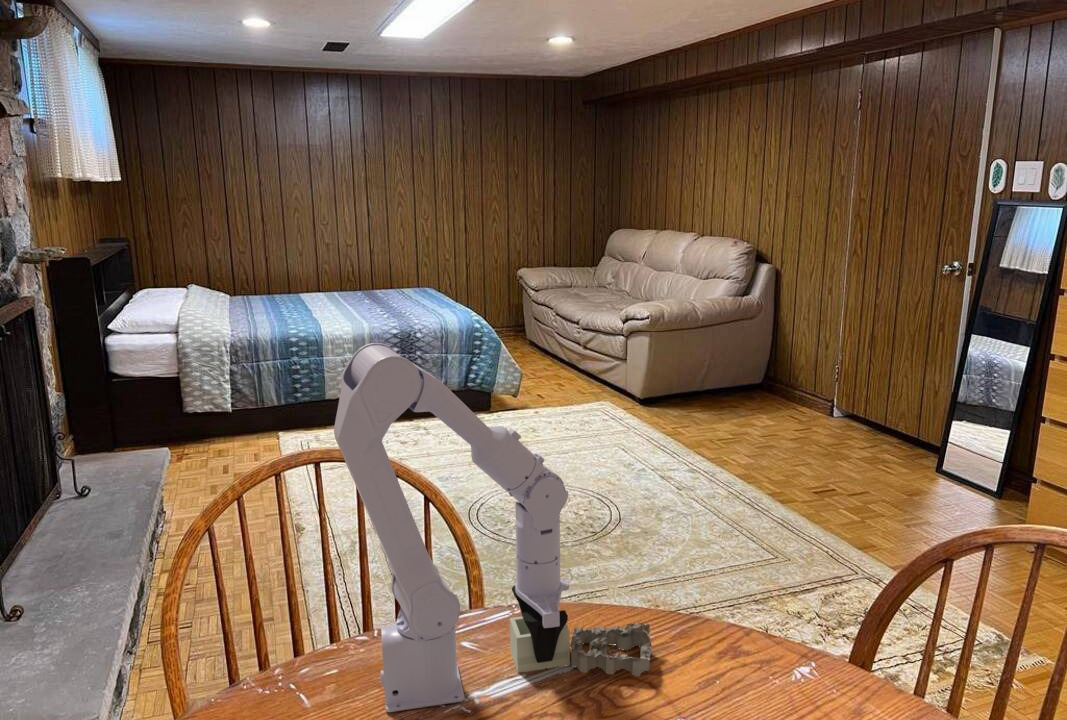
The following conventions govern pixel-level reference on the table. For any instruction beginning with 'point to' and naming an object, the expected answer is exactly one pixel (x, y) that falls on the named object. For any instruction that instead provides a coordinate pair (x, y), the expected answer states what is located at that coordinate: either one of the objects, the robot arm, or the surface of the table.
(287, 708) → the table surface
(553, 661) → the box
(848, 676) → the table surface
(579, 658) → the egg carton
